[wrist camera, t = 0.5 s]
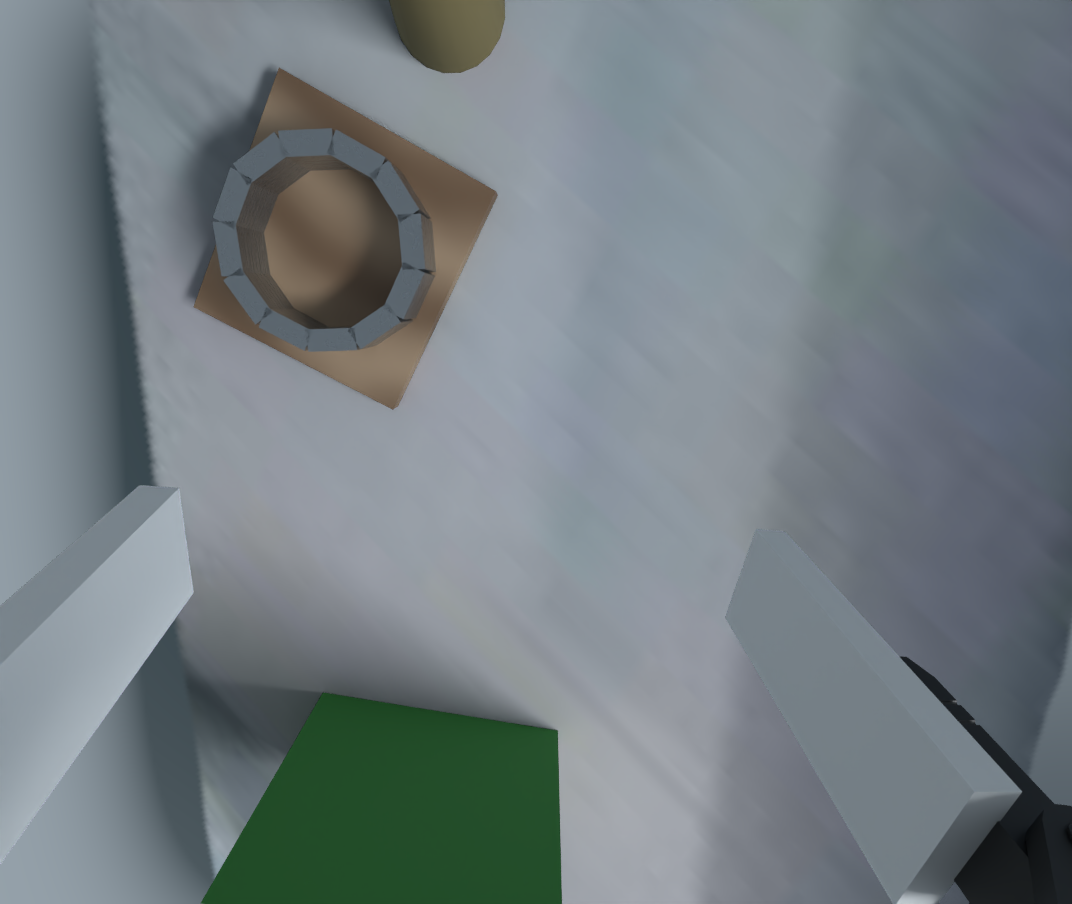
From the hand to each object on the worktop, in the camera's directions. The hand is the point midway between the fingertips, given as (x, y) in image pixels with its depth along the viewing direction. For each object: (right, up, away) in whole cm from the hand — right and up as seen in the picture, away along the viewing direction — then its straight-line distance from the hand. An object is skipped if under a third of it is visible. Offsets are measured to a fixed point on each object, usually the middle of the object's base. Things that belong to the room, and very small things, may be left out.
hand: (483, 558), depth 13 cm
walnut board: (-10, +14, +20) cm, 27 cm away
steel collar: (-10, +14, +19) cm, 26 cm away
